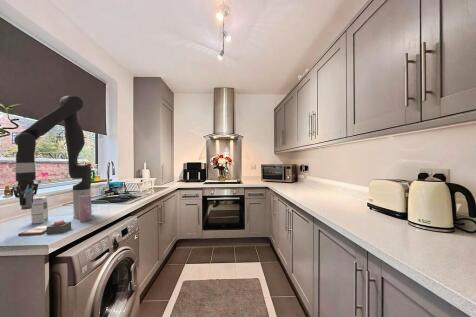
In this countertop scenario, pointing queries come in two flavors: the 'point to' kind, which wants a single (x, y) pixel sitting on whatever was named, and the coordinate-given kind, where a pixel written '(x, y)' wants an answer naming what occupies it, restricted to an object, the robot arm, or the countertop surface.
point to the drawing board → (34, 231)
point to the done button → (58, 223)
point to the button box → (58, 228)
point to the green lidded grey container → (28, 200)
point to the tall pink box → (85, 208)
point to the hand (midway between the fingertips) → (26, 204)
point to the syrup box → (39, 210)
